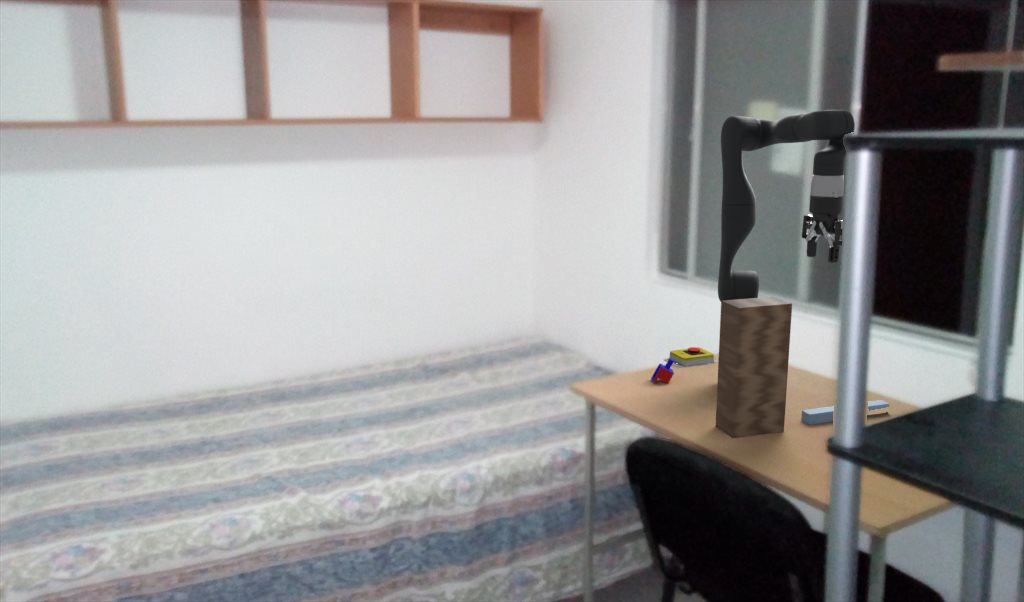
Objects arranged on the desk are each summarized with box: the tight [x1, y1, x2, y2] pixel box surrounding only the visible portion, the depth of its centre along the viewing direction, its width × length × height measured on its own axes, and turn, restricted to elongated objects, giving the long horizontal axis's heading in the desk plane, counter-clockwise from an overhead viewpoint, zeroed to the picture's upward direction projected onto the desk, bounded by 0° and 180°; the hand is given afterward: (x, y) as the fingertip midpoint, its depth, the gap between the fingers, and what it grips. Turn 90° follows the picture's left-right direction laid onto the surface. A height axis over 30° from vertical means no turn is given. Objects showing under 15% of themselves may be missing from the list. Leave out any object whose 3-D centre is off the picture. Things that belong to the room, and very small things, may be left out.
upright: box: [715, 296, 793, 439], centre depth 194 cm, size 14×8×32 cm, turn 105°
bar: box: [800, 399, 890, 425], centre depth 204 cm, size 24×3×3 cm, turn 107°
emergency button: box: [663, 346, 719, 368], centre depth 253 cm, size 9×4×15 cm
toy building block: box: [650, 358, 675, 384], centre depth 233 cm, size 4×4×8 cm
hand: (821, 259), depth 199 cm, fingers open, 8 cm apart
